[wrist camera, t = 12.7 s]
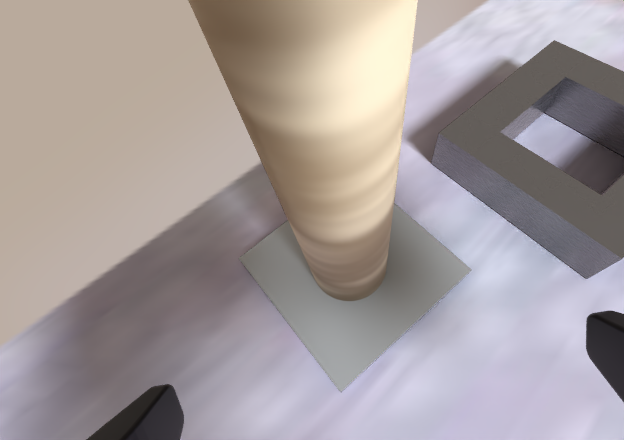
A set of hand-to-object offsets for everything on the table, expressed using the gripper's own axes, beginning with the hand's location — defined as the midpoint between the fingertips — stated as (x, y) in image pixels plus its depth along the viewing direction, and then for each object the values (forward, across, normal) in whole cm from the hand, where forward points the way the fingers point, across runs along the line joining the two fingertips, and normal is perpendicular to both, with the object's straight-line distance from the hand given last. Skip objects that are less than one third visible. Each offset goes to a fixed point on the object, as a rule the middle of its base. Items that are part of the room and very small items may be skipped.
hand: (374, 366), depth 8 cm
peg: (+9, 0, +2) cm, 10 cm away
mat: (+10, 0, +2) cm, 10 cm away
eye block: (+12, -12, 0) cm, 17 cm away
